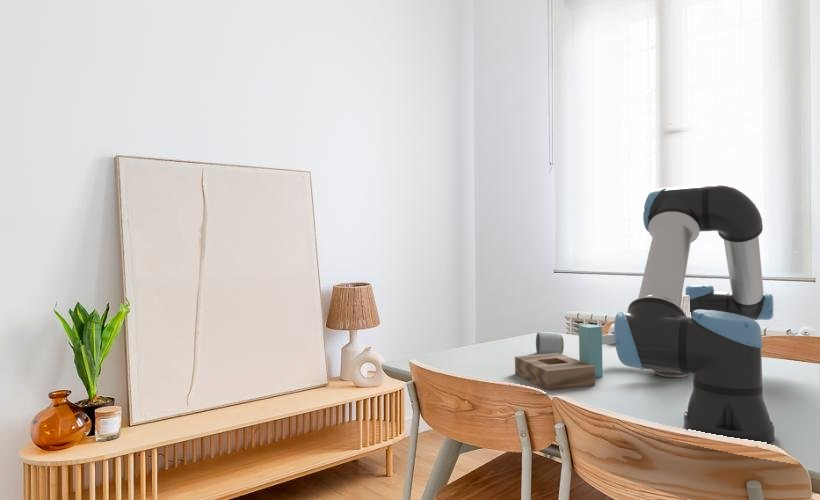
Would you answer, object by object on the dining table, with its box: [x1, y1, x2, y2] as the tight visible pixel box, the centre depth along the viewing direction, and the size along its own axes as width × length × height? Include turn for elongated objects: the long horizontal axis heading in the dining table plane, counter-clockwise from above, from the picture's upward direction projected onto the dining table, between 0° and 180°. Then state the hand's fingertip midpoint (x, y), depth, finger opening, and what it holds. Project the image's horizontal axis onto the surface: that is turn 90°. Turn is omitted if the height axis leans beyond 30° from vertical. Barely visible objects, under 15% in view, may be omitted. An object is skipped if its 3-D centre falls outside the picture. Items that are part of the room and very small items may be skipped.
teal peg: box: [578, 324, 604, 378], centre depth 147 cm, size 4×4×14 cm
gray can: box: [535, 331, 565, 355], centre depth 176 cm, size 11×8×8 cm
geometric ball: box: [607, 323, 614, 334], centre depth 191 cm, size 8×8×8 cm
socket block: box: [514, 353, 596, 391], centre depth 144 cm, size 18×14×5 cm
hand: (611, 344), depth 149 cm, fingers open, 13 cm apart
